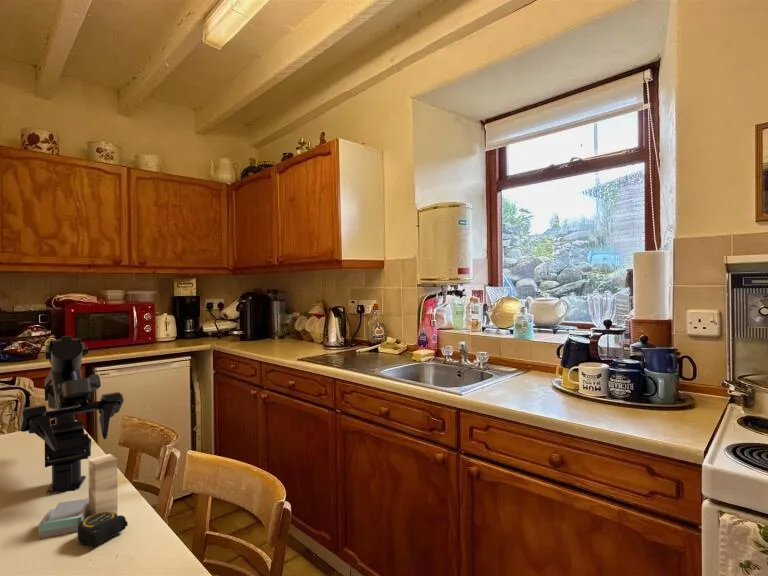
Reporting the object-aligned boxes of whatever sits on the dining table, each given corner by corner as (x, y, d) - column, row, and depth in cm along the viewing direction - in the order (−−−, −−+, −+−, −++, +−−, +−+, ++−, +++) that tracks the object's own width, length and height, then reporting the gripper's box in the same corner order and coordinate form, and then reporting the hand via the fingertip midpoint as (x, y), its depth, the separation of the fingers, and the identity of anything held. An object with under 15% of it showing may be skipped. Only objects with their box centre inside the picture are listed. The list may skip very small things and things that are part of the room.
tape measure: (92, 553, 79) (92, 533, 79) (69, 543, 82) (69, 524, 82) (128, 533, 86) (127, 514, 86) (105, 525, 88) (105, 507, 88)
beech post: (88, 516, 92) (88, 459, 91) (110, 508, 95) (109, 453, 95) (95, 523, 89) (95, 464, 89) (117, 514, 92) (117, 458, 92)
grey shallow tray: (58, 508, 95) (58, 495, 95) (95, 502, 97) (95, 490, 97) (39, 538, 84) (39, 524, 84) (81, 530, 86) (81, 517, 86)
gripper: (21, 370, 91) (32, 436, 84) (121, 358, 105) (137, 414, 98) (15, 399, 97) (24, 464, 90) (110, 384, 111) (125, 439, 104)
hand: (81, 444), depth 95 cm, fingers open, 9 cm apart
